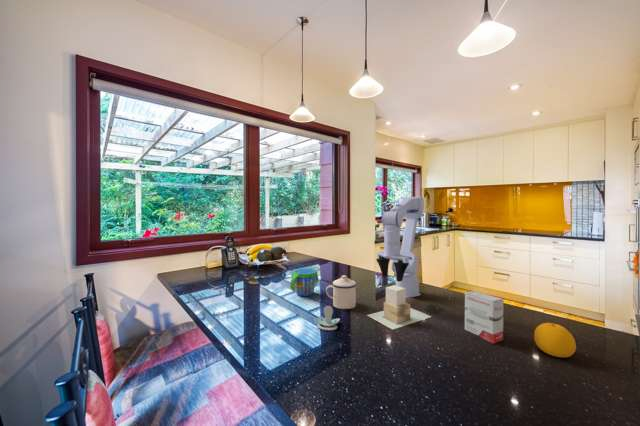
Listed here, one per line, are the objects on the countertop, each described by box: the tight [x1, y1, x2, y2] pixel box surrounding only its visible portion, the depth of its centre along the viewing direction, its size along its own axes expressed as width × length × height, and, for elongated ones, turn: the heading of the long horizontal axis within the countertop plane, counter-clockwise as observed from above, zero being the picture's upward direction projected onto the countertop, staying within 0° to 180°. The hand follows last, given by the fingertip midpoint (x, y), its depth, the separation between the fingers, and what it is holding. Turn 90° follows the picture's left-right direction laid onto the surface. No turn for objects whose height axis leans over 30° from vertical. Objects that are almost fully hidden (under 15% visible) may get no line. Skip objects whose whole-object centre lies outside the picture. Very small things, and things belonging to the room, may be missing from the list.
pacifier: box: [316, 305, 341, 331], centre depth 81 cm, size 7×6×6 cm
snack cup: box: [289, 267, 319, 297], centre depth 112 cm, size 16×10×10 cm
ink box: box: [464, 290, 504, 344], centre depth 74 cm, size 8×5×12 cm, turn 26°
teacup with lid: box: [325, 275, 357, 310], centre depth 98 cm, size 12×9×12 cm
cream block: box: [385, 284, 406, 306], centre depth 85 cm, size 4×4×5 cm
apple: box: [533, 322, 577, 359], centre depth 65 cm, size 8×8×8 cm
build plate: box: [366, 307, 432, 330], centre depth 87 cm, size 18×12×1 cm, turn 119°
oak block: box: [383, 301, 411, 324], centre depth 85 cm, size 6×6×5 cm
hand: (391, 278), depth 97 cm, fingers open, 7 cm apart
